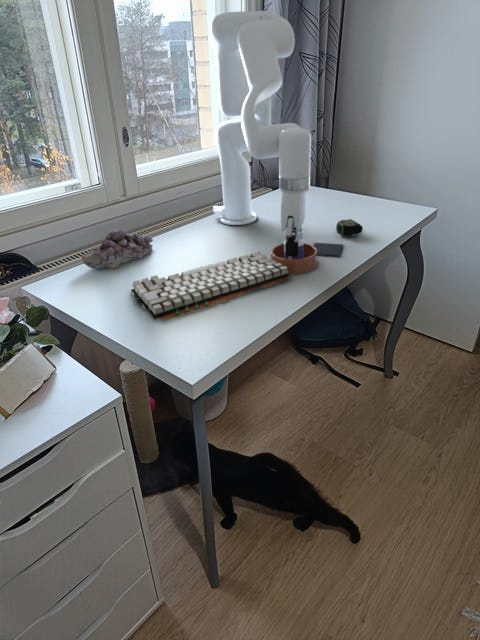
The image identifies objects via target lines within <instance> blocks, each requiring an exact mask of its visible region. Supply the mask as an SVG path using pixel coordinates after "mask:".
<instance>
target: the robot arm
mask: <svg viewBox="0 0 480 640" xmlns="http://www.w3.org/2000/svg"><path fill="white" fill-rule="evenodd" d="M209 39H210V45H211V49H212V51H213V55H214V58H215V62H216V70H217V72H216V73H217V89H218V90H217V94H218V95H217V96H218V105H219V107H218V108H219V110H220V113H221V114H222V115H224V116H226V117H240V119H229V120H226V121H223V122H221V123H219V124H218V125H217V126H216V128H215V130H214V131H215V132H214V137H215V142H216V146H217V151H218V156H219V163H220V164H219V165H220V175H221V187H222V200H223V205H221V206H218V205H214V206H213V207H212V212H213V214H214V215H215V214H220V216H219V220H220V222H221V223H222V224H225V225H229V226H243V225H248V224H252V223H253V222H255V221H256V220H257V215H258V214H257V213H256V212H254V211H253V203H252V183H251V180H252V179H251V166H250V164H249V162H248V160H247V159H246V158H245V157H244V156H243V153H245V152H248V153H249V154H250V156H251V157H252V158H254V159H255V160H265V159H272V158H278V190H279V191H280V192H282V193H281V201H280V224H279V225H280V227H279V229H280V231H281V232H284V231H285V230H286V231H285V240H286V256H291V257H297V256H298V242H297V234H298V231H299V230H300V231H301V232H302V233H303V225H304V223H305V219H306V193H307V192H308V191H310V190H311V188H310V187H311V156H312V134H311V132H310V130H309V129H307V128H304V127H301V126H300V125H298V124H297V123H295V122H286V123H276V124H272V96H273V95H275V93H277V91H279V90H280V89H281V87H282V85H283V75H282V72H281V67H280V65H279V60H278V59H286V58H289V57H290V56H291V55H292V53H293V52H294V49H295V46H296V36H295V32H294V29H293V27H292V25H291V23H290V22H289V21H288V19H286V18H284V17H283V16H280V15H279V14H276V13H275V12H273V11H269V10H251V11H248V10H247V11H245V10H244V11H241V10H240V11H228V12H227V11H226V12H222V13H219V14H217V15H215V16H214V17H213V18H212V20H211V22H210V27H209ZM292 233H295V236H294V235H292ZM301 239H302V240H303V235H302V236H301Z"/></svg>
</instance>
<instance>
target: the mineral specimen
mask: <svg viewBox="0 0 480 640" xmlns="http://www.w3.org/2000/svg"><path fill="white" fill-rule="evenodd" d="M153 241H154V240H153V237H152V236H151V235H146V236H143V235H139V236H138V233H134V234H132V233H127V231H126V230H124V229H122V228H120V229H119V230H114V231H111V232H109V233H107V235H106V237H105V238H104V239H103V240H102V242H101V244H100V246H97V247H95V248H94V249H91V250H89V251H88V252H86V253H85V254H83V255H81V260H82V262H83V263H82V264H83V265H85V266H87V267H88V268H90V269H92V270H93V269H95V270H96V269H97V268H100V269H102V268H109V269H114V268H115V269H116V268H118V267H119V265H120V264H123V263H127V262H129V261H130V262H131V261H132V260H133V259H137V260H138V259H142V258H143V256H145V255H150V253H153V252H154V250H153V244H151V243H152V242H153Z"/></svg>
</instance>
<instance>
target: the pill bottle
mask: <svg viewBox="0 0 480 640" xmlns="http://www.w3.org/2000/svg"><path fill="white" fill-rule="evenodd" d="M292 235H294V236H295V233H292ZM301 236H302V237H303V231H302V232H301V231H300V230H299V231H298V234H297V242H298V256H297V257H291V256H286V239H285V240H284V242H283V243H284V259H293V260H297V259H303V258H304V243H305V241H304V239H303V238H302V239H301Z"/></svg>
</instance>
